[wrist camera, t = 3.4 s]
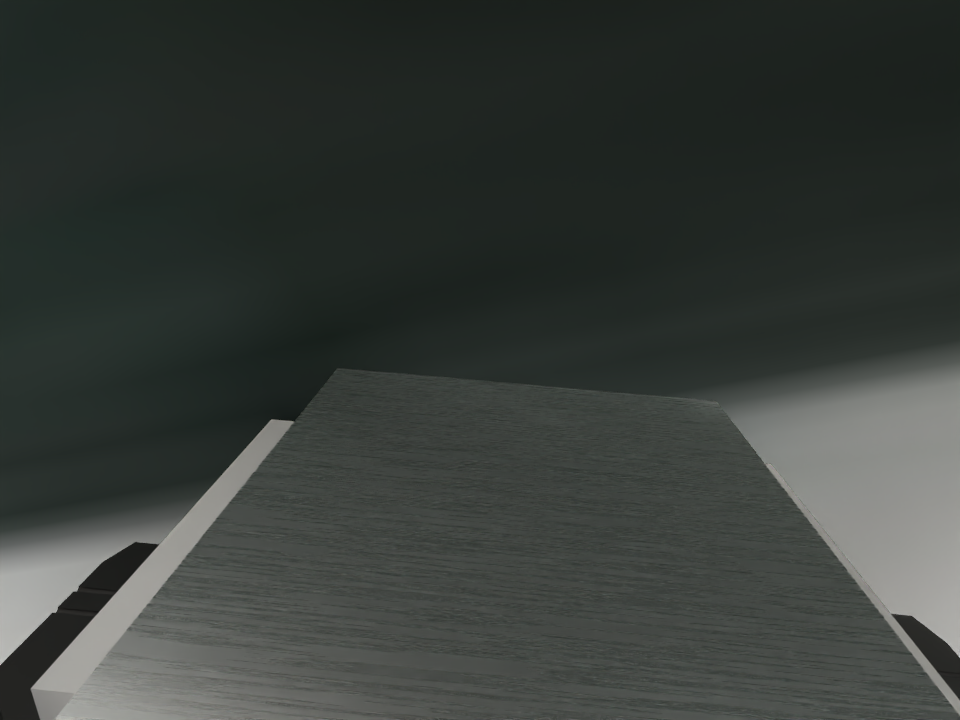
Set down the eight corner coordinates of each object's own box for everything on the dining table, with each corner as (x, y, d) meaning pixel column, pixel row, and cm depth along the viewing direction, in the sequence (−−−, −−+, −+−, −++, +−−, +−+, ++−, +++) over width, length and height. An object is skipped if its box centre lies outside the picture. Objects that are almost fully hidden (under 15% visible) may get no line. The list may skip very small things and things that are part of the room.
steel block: (338, 367, 12) (44, 731, 5) (715, 400, 12) (1059, 845, 4) (343, 554, 14) (139, 1034, 6) (669, 586, 14) (856, 1128, 6)
